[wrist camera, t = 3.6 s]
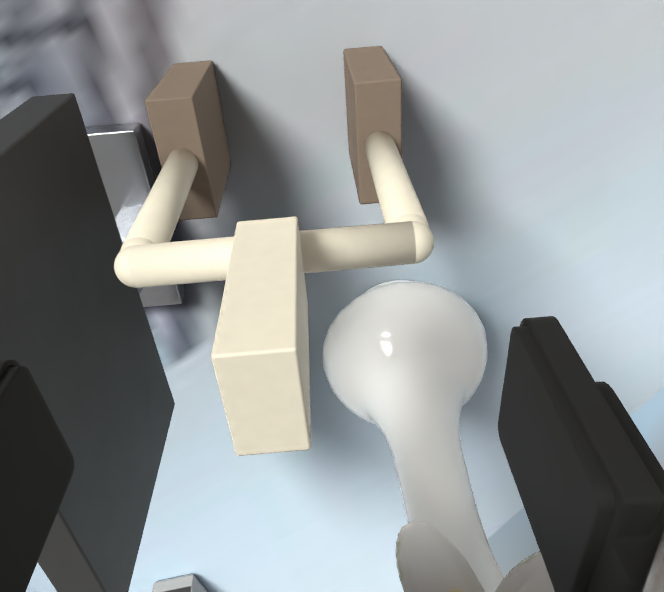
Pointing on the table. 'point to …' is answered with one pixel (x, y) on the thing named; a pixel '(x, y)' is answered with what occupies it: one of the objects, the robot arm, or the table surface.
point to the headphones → (268, 241)
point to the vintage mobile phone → (179, 584)
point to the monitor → (84, 327)
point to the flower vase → (424, 427)
